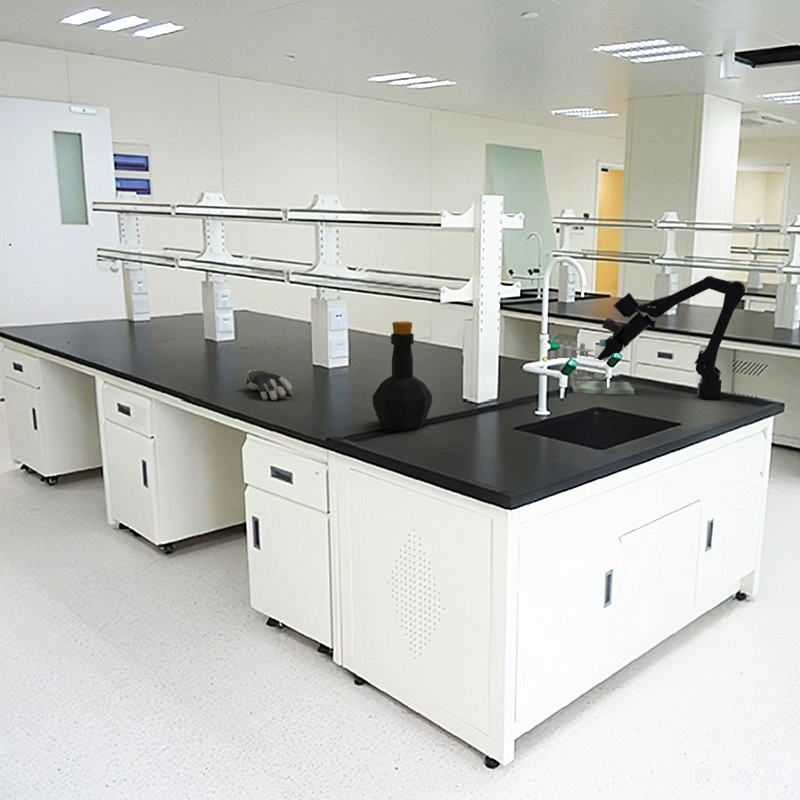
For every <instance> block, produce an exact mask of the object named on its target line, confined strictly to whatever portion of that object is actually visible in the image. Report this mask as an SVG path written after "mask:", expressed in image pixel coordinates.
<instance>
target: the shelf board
mask: <svg viewBox="0 0 800 800" xmlns="http://www.w3.org/2000/svg"><path fill="white" fill-rule="evenodd" d="M570 378H571V379H570V386H571V388H572V391H573V393H574V394H596V395H597V394H598V395H600V394H603V395H605V394H607V395H635V389H634V388H633V386H632V385H631V384H630V382H628V381H610V382H611V383H610V387H609V389H608V388H607V385H606V382H607V381H589V380H588V381H587V380H579V379H578V378H579V371H578V370H577V369H576V371H574V372H573V373H572V375H571V377H570Z"/></svg>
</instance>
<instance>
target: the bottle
mask: <svg viewBox="0 0 800 800" xmlns="http://www.w3.org/2000/svg"><path fill="white" fill-rule="evenodd" d="M391 324H392V330H393V331H392V332H393V333H391V334H390V343H391V345H393V348H392V349H393V351H392V357H391V376H389V377H387V378H385V379H384V380H383V381H382V382H380V384H379V386H378V387H377V388H376V390H375V392H374V393H373V395H372V407H373V409H374V411H375V414H376V416H377V420H378V423H379V424H380V427H383V428H385V427H386V428H385V429H387V428H388V429H387V430H389V429H391V430H390V431H414V430H420V429H421V428H422V427H423V426H424V425H425V423H426V420H427V418H428V414H429V413H430V410H431V407H432V403H433V402H432V401H433V395H432V393H431V391H430V389H429V388H428V387H427V385H426V384H425V382H423V381H421V380H420V379H418V378H417V377H416V376H414V357H413V352H412V351H413V350H412V345H414V343H415V342H414V340H415V338H414V335H415V334H414V333H412V329H413V322H411V321H393V322H392V323H391Z"/></svg>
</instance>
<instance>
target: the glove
mask: <svg viewBox="0 0 800 800" xmlns="http://www.w3.org/2000/svg"><path fill="white" fill-rule="evenodd" d="M246 375H247V379H246V387H247V389H248V390H250V389H251V390H250V391H252V390H257V391H259V393H260V396H261V399H262V400H263V399H267V398H268V399H269V397H270V399H271V400H273V401H277V400H278V398H279V396H280V397H281V398H283V397H286V395H287V394H288V395H287V396H289V395H293V396H294V393H293V390H294V387H293V385H292V384H291V382H290V381H288V379H287V378H286V377H283V376H279V375H278V374H275V373H269V372H266V371H263V370H260V369H250V370H249V371H247V374H246ZM268 394H269V397H268Z"/></svg>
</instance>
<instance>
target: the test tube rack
mask: <svg viewBox="0 0 800 800" xmlns="http://www.w3.org/2000/svg"><path fill="white" fill-rule="evenodd" d="M548 338H549V339H550V340H551V341H552V337H548ZM555 341H556V342H557V343H558V344H560V338H557V339H556V338H555V339H554V342H555ZM540 343H541V342H538V345H541V344H540ZM568 344H569V343H568V340H563V341H562V344H560V346H561V348H560V349H562V355H561V356H562V357H561V358H567V359H568V350H569V351H570V352H571V353H570V359H571V358H572V357H576V358H577V356H576V355H577V354H576V353H577V351H578V352H579V357H580V356H584V358H585V357H587V358H588V357H589V356H588V355H589V352H594V349H589V348H586V343H585V342H584V343H583V342H581V343H580V344H579V347H577V342H576V341H572V342H571V343H570V344H571V345H568ZM560 349H559V350H557V351H554V355H553V358H554V359H557V358H560ZM551 355H552V350H551V351H550V352H549V356H548V357H549V359H550V360H551V357H552V356H551ZM554 359H553V360H554ZM578 374H579V378H578V380H580V381H587V380H588V381H589V380H593V377H592V376H588V372H585V370H584V371H580V370H579V369H578ZM569 378H571V376H570V377H569Z"/></svg>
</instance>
